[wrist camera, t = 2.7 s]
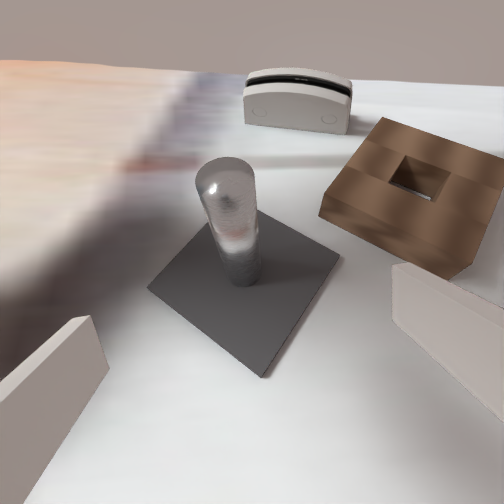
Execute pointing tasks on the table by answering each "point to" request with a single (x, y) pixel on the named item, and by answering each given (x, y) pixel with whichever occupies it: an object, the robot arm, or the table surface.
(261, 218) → the mat
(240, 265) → the pin
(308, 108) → the napkin holder
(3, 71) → the table surface
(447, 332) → the robot arm
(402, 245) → the socket block
